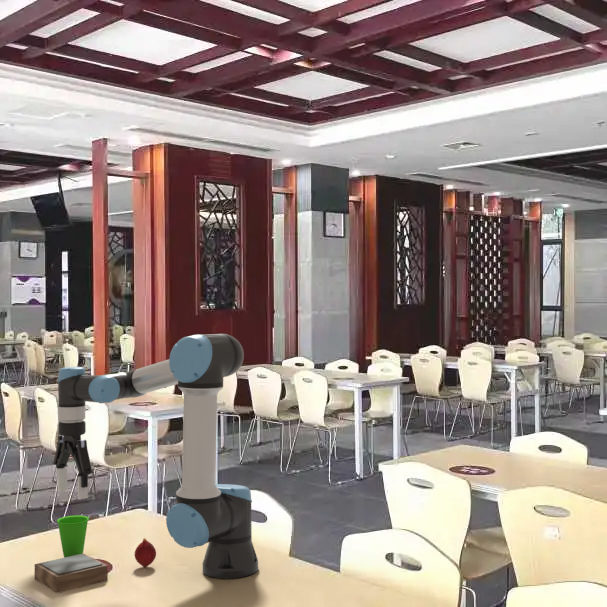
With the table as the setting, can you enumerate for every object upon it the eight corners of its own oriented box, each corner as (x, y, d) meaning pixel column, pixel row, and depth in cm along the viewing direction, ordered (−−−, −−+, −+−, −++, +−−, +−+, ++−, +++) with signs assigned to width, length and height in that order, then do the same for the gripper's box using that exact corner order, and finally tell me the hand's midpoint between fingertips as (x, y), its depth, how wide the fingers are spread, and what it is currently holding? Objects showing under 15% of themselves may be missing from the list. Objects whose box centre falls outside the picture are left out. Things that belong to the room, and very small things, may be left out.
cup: (80, 563, 232) (80, 524, 232) (51, 561, 234) (50, 522, 234) (94, 553, 241) (94, 516, 241) (66, 552, 243) (65, 514, 243)
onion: (160, 565, 229) (159, 536, 229) (148, 571, 224) (147, 542, 224) (143, 562, 232) (142, 534, 232) (130, 569, 226) (130, 539, 226)
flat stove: (107, 580, 217) (107, 564, 217) (57, 592, 208) (56, 575, 208) (83, 567, 228) (83, 552, 228) (34, 579, 219) (34, 563, 219)
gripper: (104, 424, 230) (104, 499, 230) (65, 415, 249) (66, 485, 249) (78, 426, 226) (79, 504, 226) (41, 417, 245) (42, 489, 245)
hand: (72, 494), depth 238 cm, fingers open, 13 cm apart
